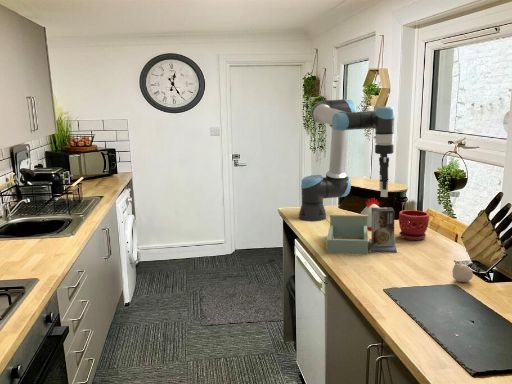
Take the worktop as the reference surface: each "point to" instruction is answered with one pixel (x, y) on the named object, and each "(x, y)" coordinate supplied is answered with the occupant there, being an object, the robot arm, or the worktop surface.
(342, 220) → the green drawer
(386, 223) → the coffee box
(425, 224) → the plant pot
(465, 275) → the garlic bulb
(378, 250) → the rubber mat
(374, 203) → the kitchen timer
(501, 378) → the worktop surface
